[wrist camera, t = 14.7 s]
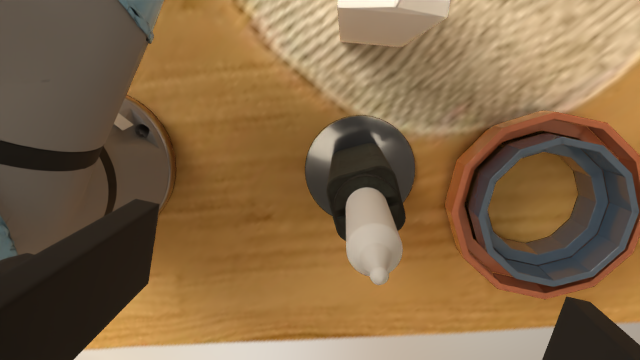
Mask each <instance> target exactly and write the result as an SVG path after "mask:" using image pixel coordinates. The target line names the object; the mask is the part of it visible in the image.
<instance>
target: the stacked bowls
mask: <svg viewBox="0 0 640 360" xmlns="http://www.w3.org/2000/svg"><path fill="white" fill-rule="evenodd" d="M567 122H568V123H567ZM581 125H582V126H581ZM587 127H588V128H589V129H590V130H591V131H592V132H593V133H594V134H595V135H596V136H597V137H598V138H599V139H600V140H601V141H602V142H603V143H604V144H605V145H606V146H607V147H606V146H605V145H604V144H603V143H602V142H601V141H600V140H599V139H598V138H597V137H596V136H595V135H594V134H593V133H592V132H591V131H590V130H589V129H588V128H587ZM537 131H546V132H550V133H555V134H559V135H564V136H567V137H563V136H558V135H554V134H549V133H543V134H539V135H536V136H527V137H524V138H521V139H517V140H514V141H511V142H508V143H504V144H501V143H502V142H504V141H508V140H511V139H514V138H518V137H521V136H524V135H527V134H531V133H534V132H537ZM500 144H501V145H500ZM541 152H547V153H551V154H556V155H558V156H559V157H560V158H561V159H562V160H563V161H564V162H565V163H566V164H567V165H568V166H570V167H571V168H572V169H573V171H574V175H575V180H576V185H577V189H578V197H577V200H576V203H575V206H574V208H573V211H572V214H571V217H570V219H569V220H568V221H567V222H565V223H564V224H563V225H562V226H561V227H560V228H559V229H558V230H557V231H556V232H554V233H553V234H552V235H551V236H550V237H546V238H543V239H539V240H535V241H532V242H528V243H522V242H517V241H513V240H508V239H503V238H500V237H499V236H498V235H497V234H496V233H495V232H494V231H493V230H492V226H491V222H490V218H489V214H488V207H489V204H490V200H491V197H492V194H493V191H494V187H495V184H496V182H497V181H498V180H499V179H500V178H501V177H502V176H503V175H504V174H505V173H506V172H507V171H508V170H509V169H510V168H511V167H512V166H514V165H515V164H516V163H517V162H518V161H519V160H520V159H521V158H524V157H528V156H531V155H534V154H538V153H541ZM617 157H618V159H617ZM465 200H466V203H467V206H468V210H469V214H470V217H471V221H472V225H473V228H474V232H475V236H476V239H477V240H476V239H475V238H474V237H473V236H472V232H471V228H470V225H469V221H468V217H467V214H466V210H465V206H464V204H465ZM445 209H446V212H447V216H448V219H449V223H450V226H451V230H452V234H453V237H454V241H455V244H456V248H457V250H458V251H459V252H460V254H461V255H462V257H463V258H464V259H465V260H466V261H467V262H468V263H469V264H471V265H472V266H473V267H474V268H475V269H476V270H477V271H478V272H479V273H481V274H482V275H483V276H484V277H485V278H486V279H487V280H488V281H489V282H490V283H492V284H493V285H494V286H495V287H496V288H497V289H500V290H505V291H510V292H514V293H519V294H523V295H528V296H532V297H537V298H542V299H548V298H552V297H555V296H559V295H563V294H567V293H571V292H575V291H579V290H582V289H586V288H590V287H594V286H595V285H596V284H597V283H598V282H600V281H601V280H602V279H603V278H604V277H605V276H607V275H608V274H609V273H610V272H611V271H612V270H614V269H615V268H616V267H617V266H618V265H619V264H621V263H622V262H623V261H624V260H625V259H627V258H628V257H629V256H630V255H631V254H632V253H633V252H634V249H635V247H636V244H637V241H638V239H639V236H640V155H639V154H638V153H637V152H636V151H635V150H634V149H633V148H632V147H631V146H630V145H629V144H628V143H627V142H626V141H625V140H624V139H623V138H622V137H621V136H620V135H619V134H618V133H617V132H616V131H615V130H614V129H613V128H612V127H611V126H610V125H609V124H608V123H606V122H601V121H596V120H592V119H587V118H582V117H578V116H573V115H568V114H564V113H559V112H554V111H546V110H541V111H538V112H535V113H532V114H528V115H525V116H522V117H519V118H515V119H512V120H509V121H506V122H502V123H499V124H496V125H493V126H492V127H491V128H488V129H487V130H486V131H485V132H484V133H483V134H482V135H481V136H480V137H479V138H478V139H477V140H476V141H475V142H474V143H473V144H472V145H471V146H470V147H469V148H468V149H467V150H466V151H465V152H464V153H463V154H462V155H461V156H460V157H459V158H458V159H457V161H456V165H455V168H454V172H453V176H452V179H451V183H450V186H449V190H448V193H447V197H446V204H445ZM494 248H495V249H494ZM470 252H471V253H472V254H471V253H470ZM481 262H482V263H483V264H482V263H481ZM493 272H495V273H493ZM497 273H500V274H497ZM502 274H504V275H502ZM506 275H509V276H506ZM511 276H513V277H511Z"/></svg>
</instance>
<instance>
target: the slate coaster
mask: <svg viewBox="0 0 640 360" xmlns="http://www.w3.org/2000/svg"><path fill="white" fill-rule="evenodd" d="M366 143H374V144H376V145H377V146H379V148H380V149H381V151H382V153H383V154H384V156H385V158H386V160H387V161H388V163H389V165H390V166H391V168H392V170H393V172H394V173H395V176H396V178H397V182H398V186H399V190H400V194H401V198H402V202H404V201H405V199H406V198H407V196H408V195H409V193H410V191H411V188H412V185H413V182H414V177H415V161H414V156H413V152H412V150H411V147H410V145H409V143H408V141H407V140H406V139H405V137H404V136H403V135H402V134H401V132H400V131H399V130H398V129H396V128H395V127H394V126H393V125H391V124H390V123H388V122H386V121H384V120H382V119H380V118H376V117H373V116H367V115H355V116H348V117H344V118H341V119H339V120H336V121H335V122H333V123H331V124H329V125H328V126H327V127H325V128H324V129H323V130H322V131H321V132H320V133H319V134H318V135H317V137H316V138H315V139H314V141H313V143H312V144H311V146H310V149H309V151H308V154H307V158H306V163H305V177H306V182H307V186H308V189H309V191H310V193H311V195H312V197H313V199H314V200H315V201H316V203H317V204H318V205H319V206H320V207H321V208H322V209H323V210H324V211H325V212H327V213H328V214H330V215H331V216H332V212H331V209H330V205H329V202H328V198H327V194H326V189H327V183H328V177H329V171H330V165H331V159H332V157H333V155H334V154H335V153H336V152H337V151H340V150H343V149H347V148H351V147H355V146H358V145H362V144H366Z"/></svg>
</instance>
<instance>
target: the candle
mask: <svg viewBox="0 0 640 360" xmlns="http://www.w3.org/2000/svg"><path fill="white" fill-rule="evenodd" d="M326 194H327V198H328V202H329V205H330V209H331V212H332V216H333V220H334V223H335V227H336V230H337V233H338V235H339V236H340V237H341V238H342V239H343V240H345V241H346V251H347V257H348V259H349V262H350V263H351V265H352V266H353V267H354V268H355V269H356V270H357V271H358V272H360V273H361V274H364V275H366V276H370V279H371V281H372V282H373V283H374V284H377V285H382V284H384V283H386V282H387V280H388V278H389V274H388V273H390V272H391V271H392V270H394V269H395V268H396V266H397V265H398V264H399V262H400V260H401V257H402V252H403V248H402V242H401V239H400V236H399V234H398V230H400V229H401V228H402V227H403V225H404V223H405V219H406V216H405V211H404V206H403V202H402V198H401V194H400V190H399V186H398V182H397V178H396V176H395V173H394V172H393V170H392V168H391V166H390V165H389V163H388V161H387V160H386V158H385V156H384V154H383V153H382V151H381V149H380V148H379V146H377V145H376V144H374V143H366V144H362V145H358V146H355V147H351V148H347V149H343V150H340V151H337V152H336V153H335V154H334V155H333V157H332V159H331V165H330V171H329V177H328V183H327V189H326Z"/></svg>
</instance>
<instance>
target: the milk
mask: <svg viewBox="0 0 640 360" xmlns="http://www.w3.org/2000/svg"><path fill="white" fill-rule="evenodd" d="M449 7H450V0H338V3H337V10H338V21H339V33H340V42H347V43H358V44H369V45H380V46H392V47H403V46H405V45H406V44H408V43H409V42H411V41H412V40H414V39H415V38H417V37H418V36H420V35H421V34H423V33H424V32H426V31H427V30H429V29H430V28H432V27H434V26H435V25H437V24H438V23H440V22H441V21H443V20H444V19H446V18H447V17H448V14H449Z"/></svg>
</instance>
